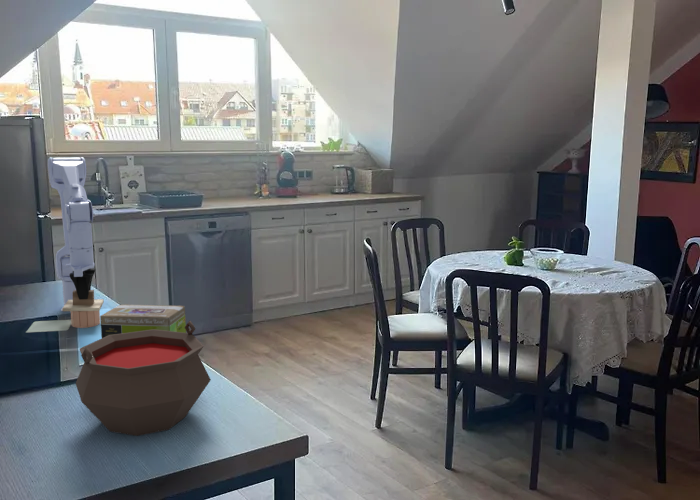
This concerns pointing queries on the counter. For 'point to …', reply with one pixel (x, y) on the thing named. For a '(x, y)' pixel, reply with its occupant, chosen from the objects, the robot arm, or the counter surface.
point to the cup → (85, 318)
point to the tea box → (143, 319)
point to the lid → (83, 303)
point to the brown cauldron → (142, 379)
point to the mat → (49, 326)
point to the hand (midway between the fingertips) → (84, 297)
